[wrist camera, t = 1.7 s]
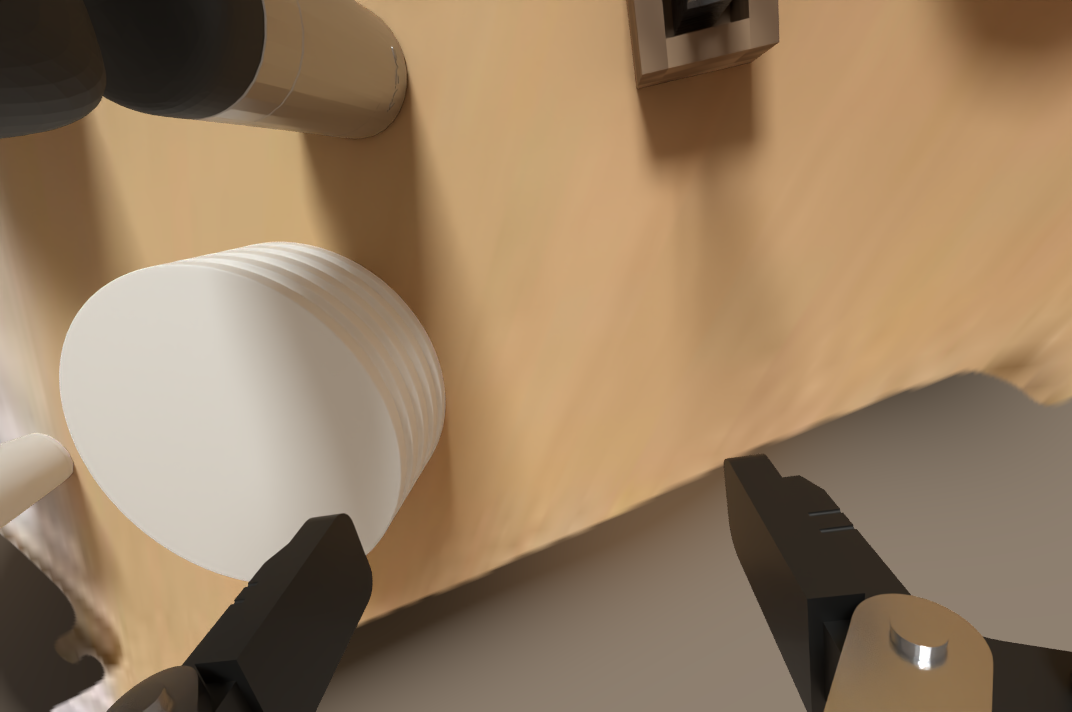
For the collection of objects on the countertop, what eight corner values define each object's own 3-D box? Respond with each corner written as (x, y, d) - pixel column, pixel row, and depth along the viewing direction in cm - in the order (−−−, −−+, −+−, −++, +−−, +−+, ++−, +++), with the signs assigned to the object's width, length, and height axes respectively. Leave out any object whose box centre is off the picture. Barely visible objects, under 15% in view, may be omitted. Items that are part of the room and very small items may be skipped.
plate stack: (455, 266, 43) (406, 298, 33) (438, 524, 53) (396, 613, 43) (156, 220, 45) (18, 236, 35) (195, 477, 56) (97, 550, 45)
